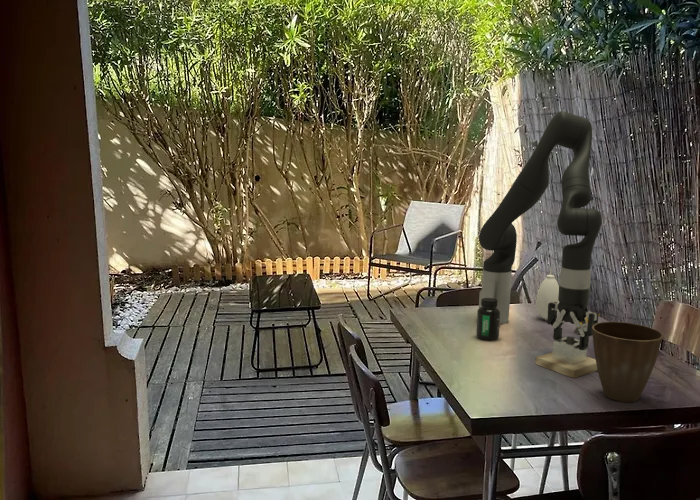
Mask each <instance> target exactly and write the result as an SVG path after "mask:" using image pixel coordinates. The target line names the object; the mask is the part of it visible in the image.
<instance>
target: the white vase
mask: <svg viewBox="0 0 700 500" xmlns="http://www.w3.org/2000/svg"><path fill="white" fill-rule="evenodd" d="M549 271H550V272H549V274H547V275H546V278H544V279H543V281H542V282H541V284H540V286H539V288H538V290H537V294H536V295H537V296H536V300H535V301H536V303H535V306H536V310H537V312H538V315H539V316H540V317H541V318H542V319H543V320H545V321H547V319H548V304H549V303H551V302H557V303H558V304H559V300H558V295H559V283H558V281H557V280H556V278H555V275H554V274H552V273H553V272H552V271H553V270H552V268H550V270H549ZM559 314H560V312H559V310H557V316H559Z"/></svg>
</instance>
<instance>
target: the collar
mask: <svg viewBox="0 0 700 500" xmlns="http://www.w3.org/2000/svg"><path fill="white" fill-rule="evenodd" d="M566 337H567V336H565V337H562V338H560V339H556V340H554V339H553V346H552V352H553V357H552V358H553V359H556V360H559V361H562V362H565V363H568V364H570V365H573V364H576V363H580V362H583V361H586V356H587V353H588V352H587V350H588V347H587V348H586V349H585V350H579V342H580V339H577V338H575V339H574V344H570V343H567V342H566Z"/></svg>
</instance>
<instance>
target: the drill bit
mask: <svg viewBox="0 0 700 500" xmlns="http://www.w3.org/2000/svg"><path fill="white" fill-rule="evenodd" d="M598 314H599V316H598V318H599V317H600V315H601V314H600V313H598ZM585 318H586V321H587V323H588V320H587V316H586V317H585ZM580 324H582V322H581V323H580ZM573 331H574V333H575V334H578V335H580V332H579V330H578V329H577V328H576V327H575V329H574V330H573Z"/></svg>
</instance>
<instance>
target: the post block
mask: <svg viewBox="0 0 700 500" xmlns="http://www.w3.org/2000/svg"><path fill="white" fill-rule="evenodd" d="M565 337H566V342H567V343H570V344H574V339H576V338H575V337H574V336H565ZM552 357H553V351H551V352H548V353H545V354H542V355H538V356H535V362H534V363H535V365H537V366H540V367H542V368H545V369H548V370H550V371H552V372H554V373H555V372H557V373H558V374H561V375H564V376H566V377H570V378H572V379H576V378H579V377H581V376H584V375H588V374H591V373H594V372H598V369H597V364H596V359H595V358H592V357H590V356H589V357H588V356H587V355H586V361H583V362H580V363H576V364H573V365H570V364H568V363H565V362H562V361H559V360H556V359H553V358H552Z"/></svg>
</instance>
